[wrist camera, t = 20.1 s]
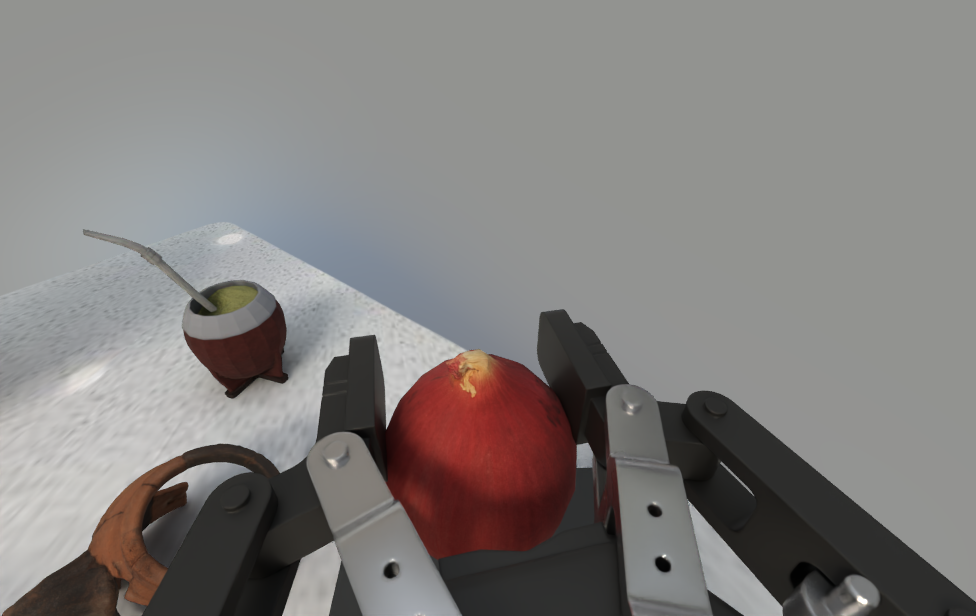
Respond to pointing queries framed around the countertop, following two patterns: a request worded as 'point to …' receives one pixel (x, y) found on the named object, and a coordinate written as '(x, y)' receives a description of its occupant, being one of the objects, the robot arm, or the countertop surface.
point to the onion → (481, 456)
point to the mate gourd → (227, 325)
